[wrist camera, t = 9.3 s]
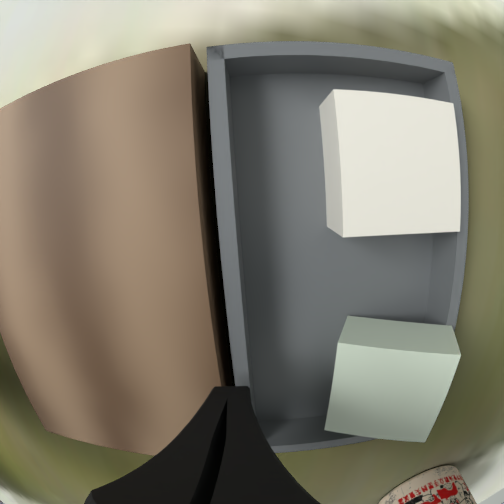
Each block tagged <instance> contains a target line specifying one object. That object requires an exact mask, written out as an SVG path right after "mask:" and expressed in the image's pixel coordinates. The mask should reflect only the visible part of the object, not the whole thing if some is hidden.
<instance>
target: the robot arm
mask: <svg viewBox="0 0 504 504" xmlns="http://www.w3.org/2000/svg"><path fill="white" fill-rule="evenodd" d="M0 504H4V503H3V502H2V501H0ZM84 504H320V503H319V502H318V501H317V500H315V499H314V498H313V497H312V496H311V495H310V494H309V493H308V492H307V491H306V490H305V489H304V488H303V487H302V486H301V485H300V484H299V483H298V482H297V481H296V480H295V479H294V478H293V477H292V475H291V474H290V473H289V472H288V471H287V469H286V468H285V467H284V466H283V464H282V463H281V462H280V460H279V459H278V457H277V456H276V454H275V453H274V451H273V450H272V448H271V447H270V445H269V443H268V441H267V440H266V438H265V436H264V434H263V432H262V430H261V428H260V425H259V423H258V421H257V418H256V416H255V413H254V410H253V407H252V403H251V394H250V388H249V387H248V386H215V387H214V388H213V389H212V390H211V392H210V393H209V395H208V397H207V398H206V400H205V401H204V403H203V404H202V406H201V407H200V408H199V410H198V411H197V412H196V414H195V415H194V416H193V418H192V419H191V420H190V421H189V423H188V424H187V425H186V426H185V427H184V428H183V430H182V431H181V432H180V433H179V434H178V435H177V436H176V437H175V438H174V439H173V440H172V441H171V442H170V443H169V444H168V445H167V446H166V447H165V448H164V449H163V450H161V451H160V452H159V453H158V454H157V455H155V456H154V457H153V458H151V459H150V460H149V461H147V462H146V463H145V464H143V465H142V466H140V467H139V468H137V469H135V470H134V471H132V472H130V473H129V474H127V475H125V476H123V477H122V478H120V479H118V480H116V481H113V482H111V483H109V484H106V485H104V486H102V487H99V488H97V489H94V490H92V491H91V492H90V494H89V496H88V497H87V499H86V501H85V503H84ZM502 504H504V502H503V503H502Z"/></svg>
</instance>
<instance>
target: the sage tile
mask: <svg viewBox="0 0 504 504" xmlns="http://www.w3.org/2000/svg"><path fill="white" fill-rule="evenodd" d="M460 356H461V353H460V350H459V347H458V343H457V340H456V337H455V334H454V331H453V328H452V326H449V325H436V324H425V323H413V322H403V321H393V320H383V319H374V318H365V317H357V316H347V319H346V322H345V324H344V327H343V330H342V333H341V335H340V338H339V341H338V344H337V353H336V360H335V368H334V375H333V382H332V388H331V395H330V401H329V407H328V412H327V418H326V423H325V429H324V430H327V431H332V432H338V433H344V434H350V435H356V436H363V437H371V438H379V439H388V440H398V441H410V442H425V441H426V439H427V437H428V435H429V433H430V431H431V429H432V427H433V425H434V423H435V421H436V419H437V416H438V414H439V412H440V410H441V407H442V405H443V402H444V400H445V398H446V395H447V393H448V390H449V388H450V385H451V382H452V380H453V377H454V374H455V371H456V368H457V366H458V363H459V360H460Z"/></svg>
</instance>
